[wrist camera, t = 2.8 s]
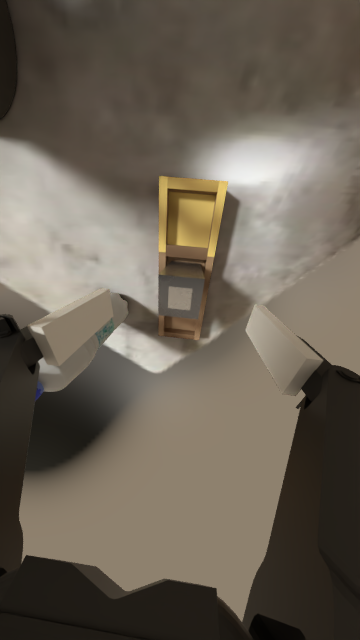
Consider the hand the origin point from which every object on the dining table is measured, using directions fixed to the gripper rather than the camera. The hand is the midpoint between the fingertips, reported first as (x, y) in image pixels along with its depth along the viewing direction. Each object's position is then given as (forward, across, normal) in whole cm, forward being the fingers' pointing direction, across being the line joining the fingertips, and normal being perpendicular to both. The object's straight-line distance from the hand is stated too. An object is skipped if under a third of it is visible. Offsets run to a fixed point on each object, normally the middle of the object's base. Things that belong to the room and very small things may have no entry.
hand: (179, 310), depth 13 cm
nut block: (+12, 0, 0) cm, 12 cm away
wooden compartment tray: (+13, 0, 0) cm, 13 cm away
